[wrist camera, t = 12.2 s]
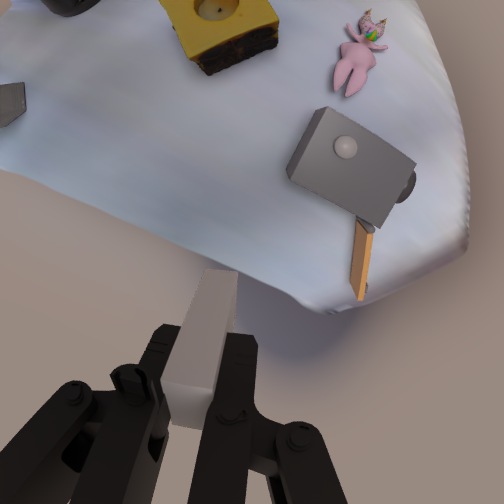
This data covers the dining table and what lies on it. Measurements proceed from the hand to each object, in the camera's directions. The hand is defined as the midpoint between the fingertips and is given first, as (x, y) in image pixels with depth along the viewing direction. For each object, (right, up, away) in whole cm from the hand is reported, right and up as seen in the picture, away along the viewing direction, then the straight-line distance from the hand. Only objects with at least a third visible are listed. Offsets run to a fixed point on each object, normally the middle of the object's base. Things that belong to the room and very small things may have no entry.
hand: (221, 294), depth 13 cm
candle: (-2, +31, +15) cm, 34 cm away
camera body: (+14, +14, +22) cm, 29 cm away
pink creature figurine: (+15, +28, +15) cm, 36 cm away
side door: (+17, +2, +26) cm, 31 cm away
